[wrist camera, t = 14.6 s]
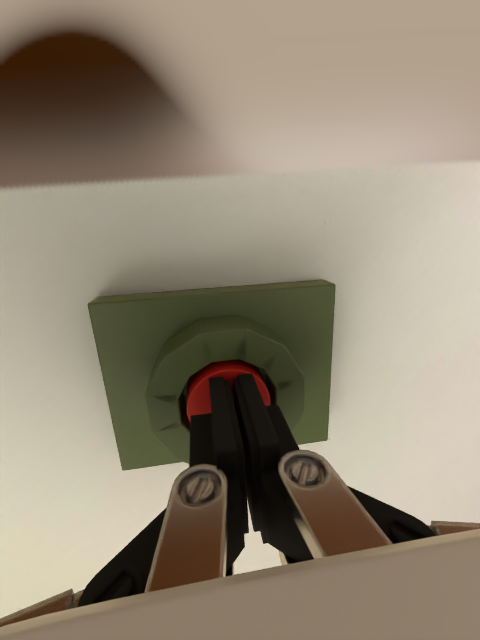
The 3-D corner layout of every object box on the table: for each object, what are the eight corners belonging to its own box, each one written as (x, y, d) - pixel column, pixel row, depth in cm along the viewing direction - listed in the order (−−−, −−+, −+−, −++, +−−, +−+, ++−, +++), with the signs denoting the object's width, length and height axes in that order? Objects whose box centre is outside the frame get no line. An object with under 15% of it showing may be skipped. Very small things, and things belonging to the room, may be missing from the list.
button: (191, 420, 13) (191, 448, 12) (183, 354, 12) (182, 374, 11) (261, 411, 14) (271, 437, 12) (260, 346, 13) (270, 365, 11)
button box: (127, 453, 15) (112, 506, 12) (96, 296, 12) (67, 317, 10) (318, 426, 16) (345, 468, 13) (324, 279, 14) (358, 293, 11)
